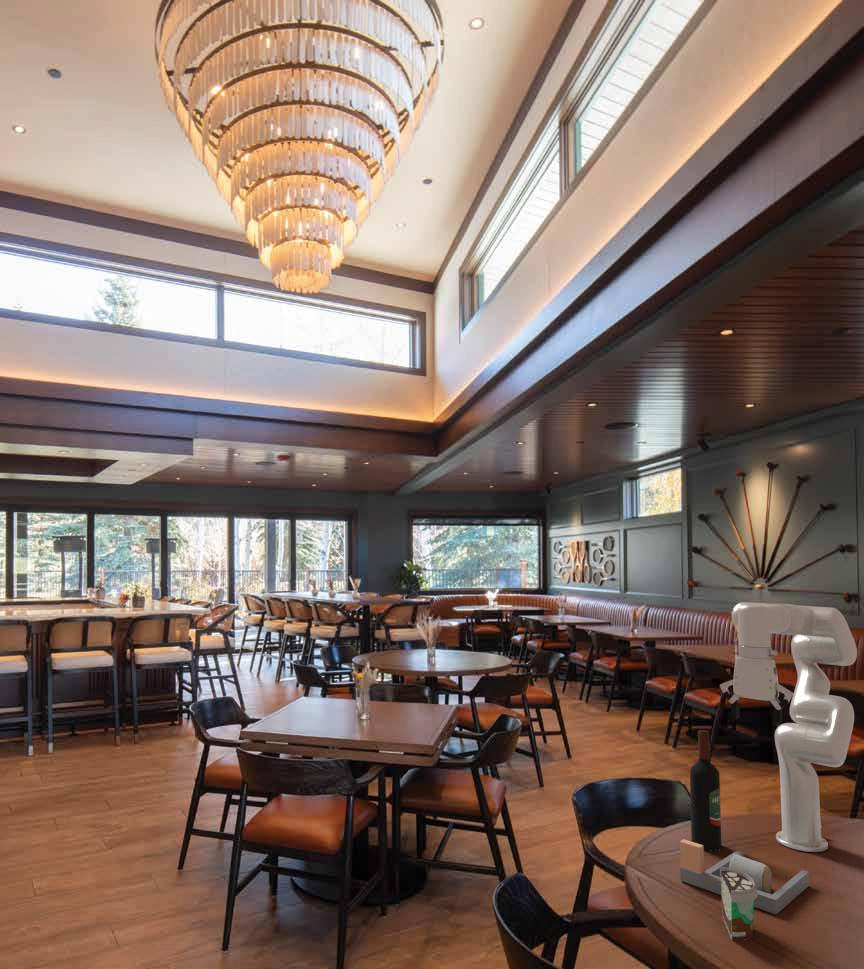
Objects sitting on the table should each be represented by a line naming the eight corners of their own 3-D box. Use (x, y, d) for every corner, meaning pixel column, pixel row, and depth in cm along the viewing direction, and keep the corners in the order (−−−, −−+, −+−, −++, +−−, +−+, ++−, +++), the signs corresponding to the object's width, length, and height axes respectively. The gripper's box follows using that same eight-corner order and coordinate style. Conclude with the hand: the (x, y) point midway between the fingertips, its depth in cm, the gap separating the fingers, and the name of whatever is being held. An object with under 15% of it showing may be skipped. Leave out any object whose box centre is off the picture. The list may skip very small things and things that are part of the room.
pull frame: (718, 856, 184) (717, 820, 185) (809, 885, 168) (807, 845, 169) (680, 880, 170) (679, 841, 171) (776, 914, 154) (774, 871, 155)
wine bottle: (696, 837, 197) (693, 726, 200) (724, 844, 192) (721, 730, 195) (688, 846, 191) (685, 731, 194) (717, 853, 186) (714, 736, 189)
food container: (766, 947, 141) (764, 894, 142) (733, 944, 143) (731, 891, 144) (751, 917, 153) (749, 868, 154) (721, 914, 155) (719, 865, 156)
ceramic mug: (765, 905, 159) (764, 868, 160) (727, 894, 164) (727, 859, 165) (776, 889, 167) (775, 854, 168) (740, 878, 172) (739, 845, 173)
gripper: (795, 655, 179) (797, 725, 177) (724, 649, 190) (725, 714, 188) (787, 658, 174) (790, 730, 172) (715, 651, 184) (716, 719, 182)
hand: (756, 722), depth 180 cm, fingers open, 9 cm apart
